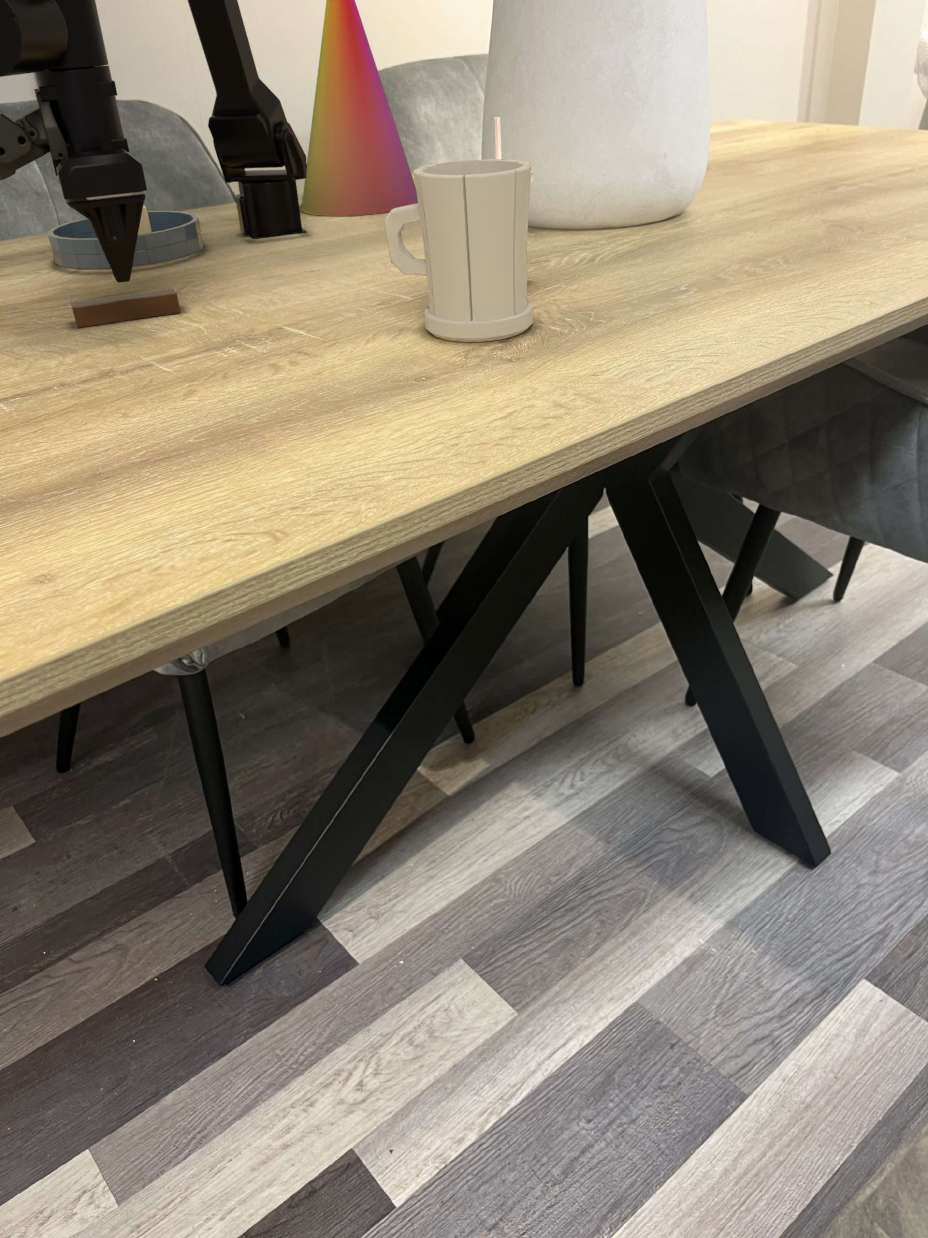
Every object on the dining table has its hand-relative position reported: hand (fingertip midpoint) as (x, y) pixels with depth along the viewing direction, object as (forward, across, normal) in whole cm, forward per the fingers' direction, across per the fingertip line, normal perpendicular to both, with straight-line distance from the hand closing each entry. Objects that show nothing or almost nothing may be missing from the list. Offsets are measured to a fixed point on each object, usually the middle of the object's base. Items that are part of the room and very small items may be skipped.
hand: (118, 271), depth 87 cm
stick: (+4, 0, 0) cm, 4 cm away
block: (+4, -27, +3) cm, 27 cm away
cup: (+4, +20, +25) cm, 32 cm away
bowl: (+4, -28, +3) cm, 28 cm away
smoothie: (+4, +8, +33) cm, 34 cm away
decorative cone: (+4, -44, +35) cm, 56 cm away
